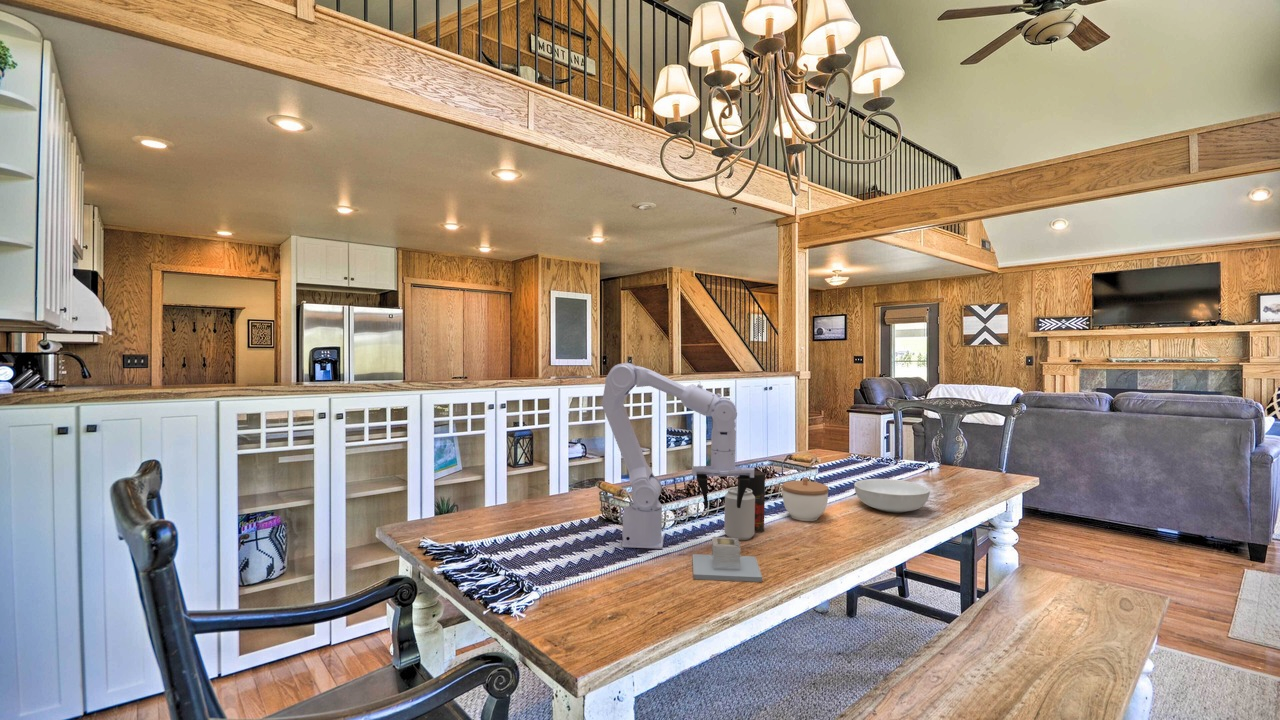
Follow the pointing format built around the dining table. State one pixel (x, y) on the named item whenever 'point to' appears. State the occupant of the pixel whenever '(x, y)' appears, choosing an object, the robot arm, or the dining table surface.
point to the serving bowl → (892, 494)
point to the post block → (706, 572)
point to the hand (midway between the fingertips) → (722, 506)
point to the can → (739, 515)
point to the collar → (725, 553)
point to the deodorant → (758, 499)
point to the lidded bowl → (805, 499)
